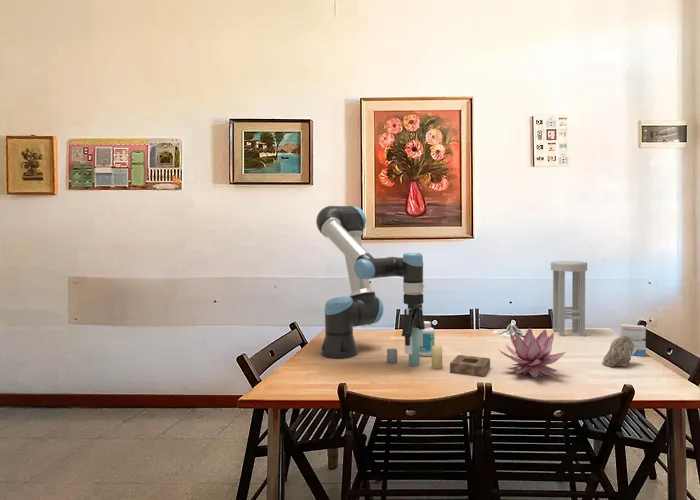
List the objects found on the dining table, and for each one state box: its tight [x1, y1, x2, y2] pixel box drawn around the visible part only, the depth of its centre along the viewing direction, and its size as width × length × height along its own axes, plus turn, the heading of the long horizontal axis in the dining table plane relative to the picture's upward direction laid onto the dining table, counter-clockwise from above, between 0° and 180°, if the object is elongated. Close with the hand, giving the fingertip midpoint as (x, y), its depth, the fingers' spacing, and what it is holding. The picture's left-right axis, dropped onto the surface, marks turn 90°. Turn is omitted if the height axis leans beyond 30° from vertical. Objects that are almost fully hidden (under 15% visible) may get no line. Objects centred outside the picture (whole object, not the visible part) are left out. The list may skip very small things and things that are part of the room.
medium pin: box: [430, 344, 443, 370], centre depth 176 cm, size 4×4×8 cm
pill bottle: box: [419, 320, 435, 357], centre depth 195 cm, size 8×7×14 cm
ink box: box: [619, 323, 647, 357], centre depth 190 cm, size 8×5×12 cm, turn 65°
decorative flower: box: [498, 327, 566, 378], centre depth 167 cm, size 21×21×15 cm
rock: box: [601, 336, 634, 368], centre depth 176 cm, size 14×10×8 cm
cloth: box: [492, 322, 536, 339], centre depth 231 cm, size 22×19×6 cm
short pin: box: [386, 348, 398, 365], centre depth 184 cm, size 4×4×5 cm
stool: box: [550, 260, 588, 337], centre depth 228 cm, size 16×16×35 cm
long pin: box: [408, 327, 420, 367], centre depth 180 cm, size 4×4×14 cm
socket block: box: [449, 354, 491, 378], centre depth 173 cm, size 12×12×4 cm
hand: (413, 349), depth 180 cm, fingers open, 12 cm apart
